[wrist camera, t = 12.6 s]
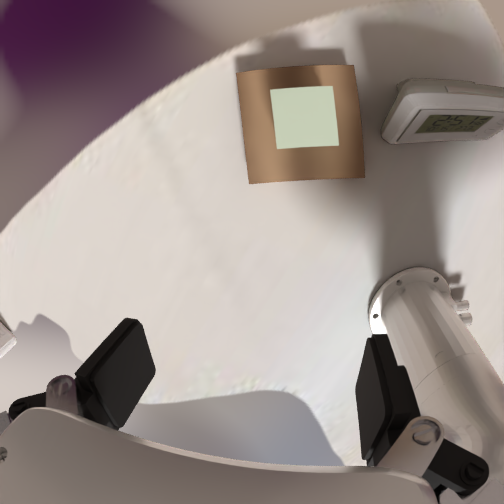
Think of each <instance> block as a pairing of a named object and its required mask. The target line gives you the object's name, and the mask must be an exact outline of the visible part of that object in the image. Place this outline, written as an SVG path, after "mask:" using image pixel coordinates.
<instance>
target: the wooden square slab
mask: <svg viewBox="0 0 504 504" xmlns="http://www.w3.org/2000/svg"><path fill="white" fill-rule="evenodd" d="M236 76H237V84H238V93H239V101H240V110H241V118H242V127H243V136H244V144H245V153H246V162H247V170H248V179H249V184H257V183H269V182H282V181H298V180H316V179H339V178H365V169H364V151H363V137H362V126H361V116H360V106H359V98H358V90H357V83H356V76H355V69H354V65H311V66H293V67H280V68H270V69H261V70H253V71H245V72H239V73H236ZM316 86H333V93H334V101H335V110H336V119H337V129H338V140H339V146H317V147H299V148H285V149H277V146H276V136H275V127H274V118H273V110H272V102H271V93H270V90H273V89H284V88H297V87H316Z"/></svg>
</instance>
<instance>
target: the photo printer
mask: <svg viewBox="0 0 504 504" xmlns="http://www.w3.org/2000/svg"><path fill="white" fill-rule="evenodd" d="M16 343H17V340H16V338H15V336H14V335H13V334H12V333H11V332H10V331H9V330H8V329H7V328H6V327H5V326H4V325H3V324H2V323H1V322H0V359H1V358H2V357H3V356H4V355H5V354H6V353H7V352H8V351H9V350H10V349H11V348H12V347H13V346H15V344H16Z"/></svg>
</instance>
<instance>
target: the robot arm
mask: <svg viewBox="0 0 504 504" xmlns="http://www.w3.org/2000/svg"><path fill="white" fill-rule="evenodd" d="M397 280H398V281H397ZM468 309H469V302H468V300H464V301H459V302H455V301H454V300H453V299H452V298H451V291H450V288H449V285H448V283H447V282H446V280H445V279H444V278H443V277H442V276H441V275H440V274H439V273H438V272H436V271H435V270H432V269H430V268H424V267H416V268H410V269H407V270H404V271H402V272H399V273H397V274H396V275H394V276H393V277H391V278H390V279H388V280H387V281H386V282H385V283H384V284H383V285H382V286H381V287H380V289H379V290H378V291H377V293H376V294H375V296H374V298H373V300H372V302H371V305H370V309H369V324H370V328H371V330H372V333H373V335H372V337H371V338H367V341H366V346H365V350H364V355H363V359H362V363H361V367H360V371H359V375H358V379H357V383H356V389H355V393H356V402H357V411H358V420H359V430H360V441H361V454H362V459H363V460H366V461H367V466H298V465H281V464H268V463H259V462H250V461H242V460H235V459H228V458H222V457H217V456H211V455H206V454H201V453H196V452H191V451H186V450H182V449H178V448H174V447H170V446H166V445H163V444H159V443H155V442H152V441H149V440H145V439H142V438H139V437H136V436H133V435H129V434H126V433H123V432H121V431H118V430H119V428H121V427H123V426H124V424H125V423H126V421H127V419H128V418H129V416H130V414H131V413H132V411H133V409H134V408H135V406H136V405H137V403H138V401H139V400H140V398H141V396H142V395H143V393H144V392H145V390H146V388H147V387H148V385H149V383H150V382H151V380H152V379H153V377H154V375H155V371H156V369H155V365H154V362H153V359H152V356H151V353H150V349H149V346H148V343H147V339H146V336H145V332H144V329H143V325H142V324H141V323H140V322H139V321H138V320H137V319H131V318H125V319H124V320H123V321H122V322H121V323H120V324H119V325H118V326H117V327H116V328H115V329H114V330H113V331H112V332H111V334H110V335H109V336H108V337H107V338H106V339H105V340H104V341H103V342H102V343H101V344H100V346H99V347H98V348H97V349H96V350H95V351H94V352H93V353H92V354H91V355H90V357H89V358H88V359H87V360H86V361H85V362H84V363H83V365H82V366H81V367H80V368H79V369H78V370H77V372H75V375H76V378H75V379H73V378H72V377H71V376H68V375H60V376H57V377H55V378H53V379H52V380H51V381H50V382H49V383H48V385H47V389H46V392H44V393H40V394H36V395H32V396H28V397H24V398H20V399H17V400H16V401H14V402H13V403H12V404H11V406H10V408H9V413H7V411H4V412H2V413H0V504H504V384H503V382H502V381H501V379H500V378H499V376H498V374H497V373H496V371H495V369H494V368H493V366H492V365H491V363H490V361H489V360H488V358H487V357H486V356H485V354H484V352H483V351H482V349H481V348H480V346H479V345H478V343H477V342H476V340H475V339H474V337H473V336H472V334H471V333H470V331H469V330H468V329H467V327H466V326H470V325H471V323H472V315H471V313H463V314H459V315H457V313H456V311H464V310H468ZM371 466H374V467H371Z"/></svg>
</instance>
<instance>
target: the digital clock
mask: <svg viewBox="0 0 504 504" xmlns="http://www.w3.org/2000/svg"><path fill="white" fill-rule="evenodd" d="M397 89H398V93H399V94H398V96H397V98H396V100H395V102H394V104H393V106H392V108H391V110H390V112H389V113H388V115H387V117H386V119H385V121H384V123H383V125H382V128H381V136H382V138H383V139H384V140H386V141H387V142H389V143H390V144H401V143H415V142H431V141H454V140H486V139H489V138H490V137H492V136H494V135H495V134H497V133H498V132H500V131H501V130H503V129H504V88H502V87H496V86H488V85H480V84H475V83H474V82H470V81H459V80H444V79H407V80H405V81H403V82H401V83H399V84H397Z"/></svg>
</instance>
